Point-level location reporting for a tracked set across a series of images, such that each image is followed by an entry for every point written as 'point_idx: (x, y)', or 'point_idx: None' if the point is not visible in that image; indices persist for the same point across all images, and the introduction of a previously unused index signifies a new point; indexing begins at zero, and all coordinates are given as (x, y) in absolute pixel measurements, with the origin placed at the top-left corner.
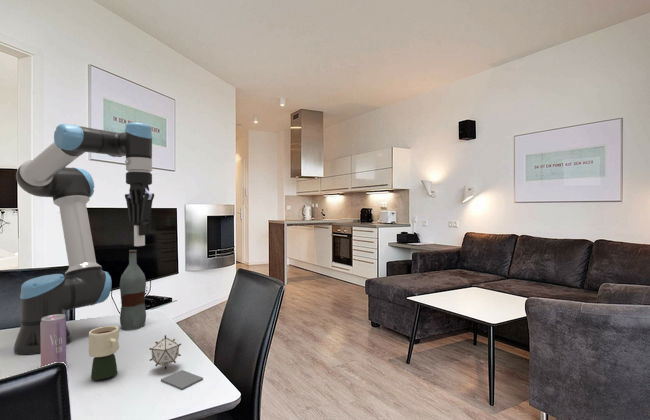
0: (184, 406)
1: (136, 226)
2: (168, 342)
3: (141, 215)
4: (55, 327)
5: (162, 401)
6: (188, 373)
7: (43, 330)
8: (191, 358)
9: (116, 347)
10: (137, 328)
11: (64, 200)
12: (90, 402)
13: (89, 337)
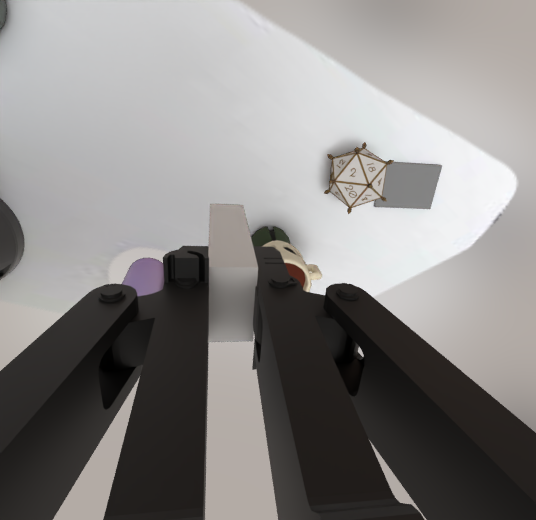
0: (460, 234)
1: (248, 335)
2: (376, 183)
3: (360, 413)
4: None
5: (421, 242)
6: (405, 166)
7: None
8: (353, 102)
9: (317, 267)
10: (5, 6)
11: None
12: None
13: None
